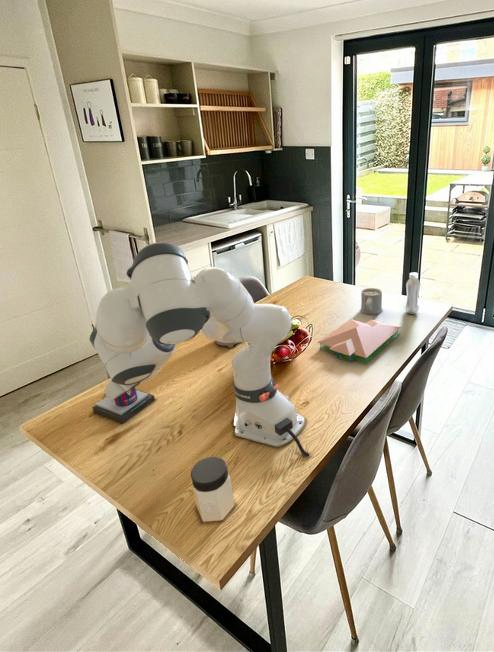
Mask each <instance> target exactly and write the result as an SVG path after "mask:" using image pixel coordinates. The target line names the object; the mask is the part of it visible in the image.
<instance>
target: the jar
mask: <svg viewBox="0 0 494 652" xmlns="http://www.w3.org/2000/svg"><path fill="white" fill-rule="evenodd" d="M190 482H191V486H192V491H193V495H194V496H193V497H194V500H195V504H196V509H197V511H198V513H199V516H200V518H201V521H202V522H203V523H206V522H218V521H224V520H225V518H226V517H227V516H228V514H229V513H230V512H231V511H232V509H233V508H234V507H235V505H236V504H235V499H234V492H233V487H232V481H231V476H230V474H229V470H228V464H227V462H226V460H224V458H222V457H219V456H209V457H205V458H203V459H200V460H199V461H197V462H196V463H195V464H194V465H193V466H192V469H191V470H190Z"/></svg>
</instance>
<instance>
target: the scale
mask: <svg viewBox="0 0 494 652" xmlns="http://www.w3.org/2000/svg"><path fill="white" fill-rule="evenodd" d="M136 393H137V397H138V398H137V400H136V401H135V402H134V403H132V404H130V405H128V406H117V405H116V403H115V400H110V399H109V398H108V397H107V396H105V397H103V398H102V399H100V400H99V401H98V402H96V403H94V404H95V405H94V406H92V407H91V408H92V411H93V413H95V414H97V415H100V416H103V417H105V418H108V419H111V420H113V421H116V422H118V423H121V424H124V423H126V422H127V421H128V420H130V419H131V418H133V417H134V416H135V415H137V414H138V413H139V412H141V411H142V410H144V409H145V408H147V406H149V405H150V404H152V403H153V402H155V400H156V399H155V395H154V394H152V393H148V392H145V391H142V390H139V389H136Z"/></svg>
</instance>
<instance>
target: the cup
mask: <svg viewBox="0 0 494 652" xmlns="http://www.w3.org/2000/svg"><path fill="white" fill-rule="evenodd" d="M136 390H137V389H136V387H134V388H132V389H130V390H128V391H126V392H125V393H123V394H122V395H120V396H118V397H117V398H115V399H114V400H115V403H116V405H117V406H128V405H130V404H132V403H134V402H135V401H136V400H137V398H138V397H137V393H136Z"/></svg>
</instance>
